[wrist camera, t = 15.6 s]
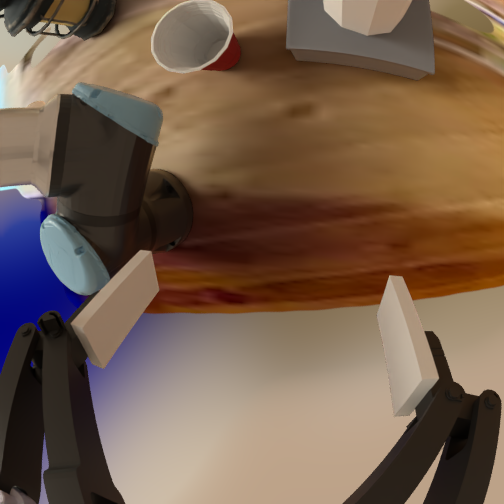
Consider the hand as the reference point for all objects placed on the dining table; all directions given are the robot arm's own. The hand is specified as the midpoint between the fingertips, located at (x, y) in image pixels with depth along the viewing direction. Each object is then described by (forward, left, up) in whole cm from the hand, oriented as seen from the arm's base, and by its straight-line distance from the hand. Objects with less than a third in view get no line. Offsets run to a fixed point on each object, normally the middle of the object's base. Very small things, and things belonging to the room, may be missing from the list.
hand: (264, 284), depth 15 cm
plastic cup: (-14, +20, -29) cm, 38 cm away
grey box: (+6, +27, -29) cm, 40 cm away
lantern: (-44, +36, -29) cm, 64 cm away
